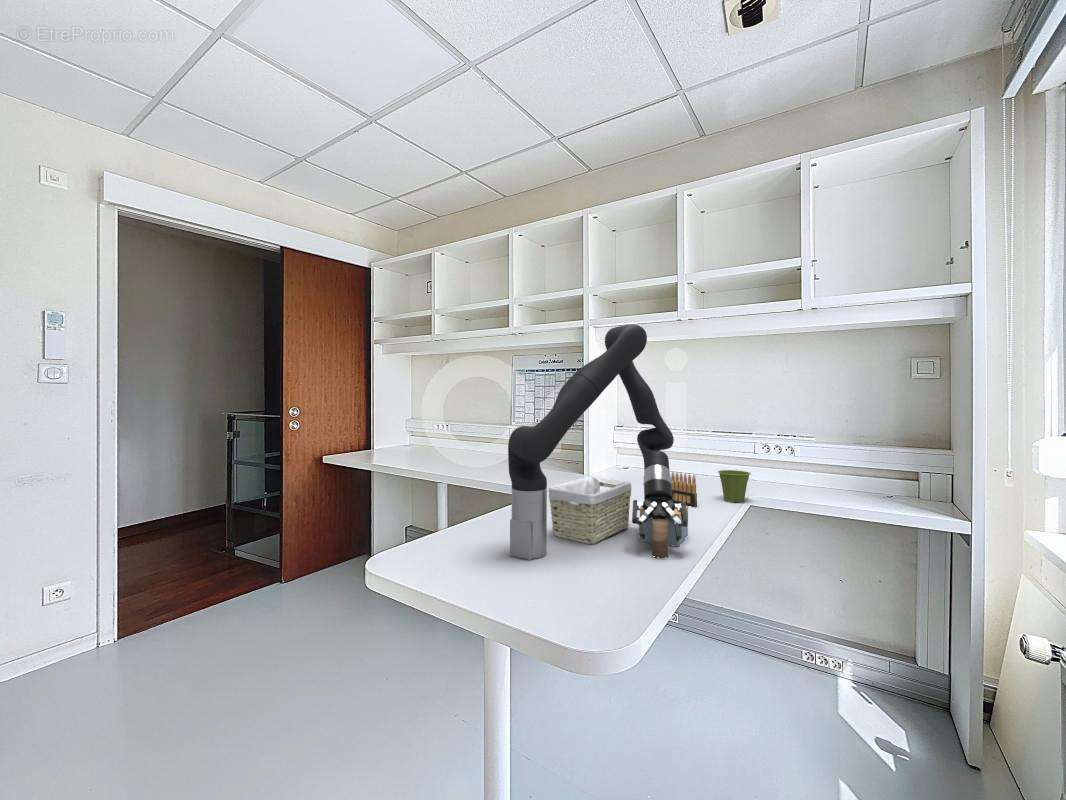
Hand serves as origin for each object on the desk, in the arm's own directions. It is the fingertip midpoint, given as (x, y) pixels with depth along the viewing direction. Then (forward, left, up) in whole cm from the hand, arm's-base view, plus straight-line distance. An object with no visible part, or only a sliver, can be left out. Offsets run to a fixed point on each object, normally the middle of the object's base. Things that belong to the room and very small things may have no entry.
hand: (660, 538), depth 121 cm
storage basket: (+11, +24, -5) cm, 27 cm away
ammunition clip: (+61, +8, -5) cm, 62 cm away
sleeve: (+16, +3, -5) cm, 17 cm away
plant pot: (+78, -7, -5) cm, 78 cm away
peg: (+1, 0, -5) cm, 5 cm away
